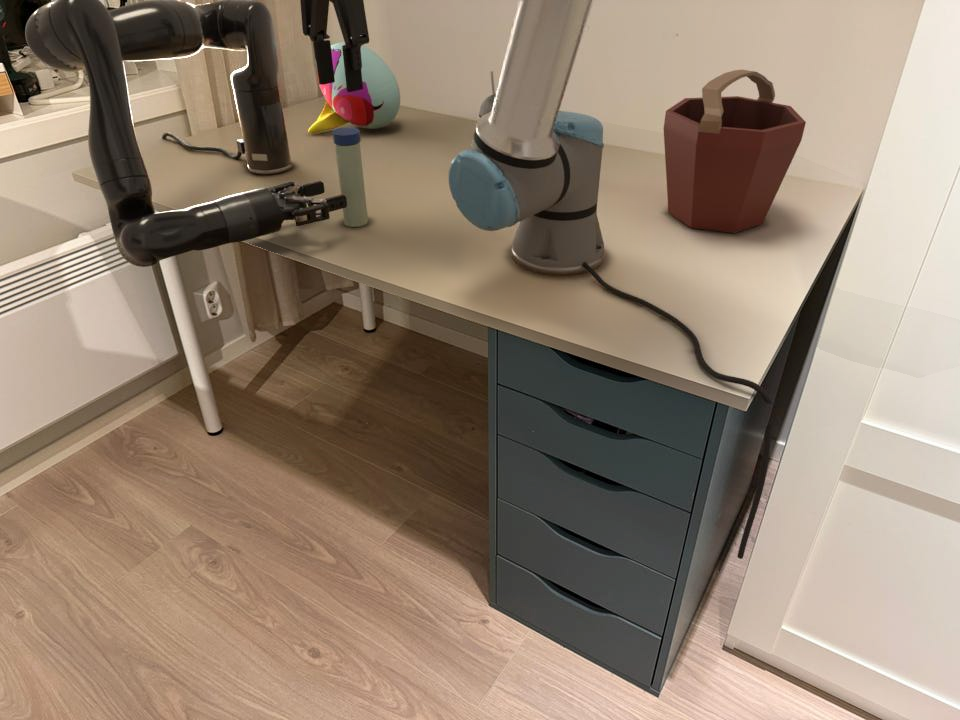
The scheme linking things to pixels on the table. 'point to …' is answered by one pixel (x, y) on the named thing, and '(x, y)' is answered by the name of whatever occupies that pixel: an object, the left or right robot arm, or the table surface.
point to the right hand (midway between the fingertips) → (340, 86)
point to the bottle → (352, 184)
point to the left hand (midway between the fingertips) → (334, 193)
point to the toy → (359, 94)
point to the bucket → (728, 154)
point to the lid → (346, 136)
